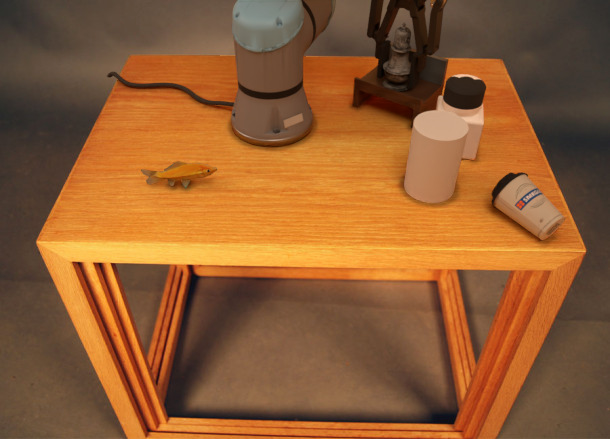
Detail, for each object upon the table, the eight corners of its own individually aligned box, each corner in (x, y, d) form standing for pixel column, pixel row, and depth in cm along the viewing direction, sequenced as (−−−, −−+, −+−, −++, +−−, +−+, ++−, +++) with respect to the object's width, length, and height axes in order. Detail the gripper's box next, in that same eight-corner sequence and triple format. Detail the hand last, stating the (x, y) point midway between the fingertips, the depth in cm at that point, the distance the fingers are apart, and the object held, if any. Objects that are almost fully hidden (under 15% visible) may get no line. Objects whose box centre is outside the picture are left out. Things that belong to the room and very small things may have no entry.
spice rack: (352, 106, 111) (355, 59, 104) (377, 85, 117) (382, 39, 110) (416, 129, 105) (424, 81, 98) (439, 106, 111) (448, 59, 104)
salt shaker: (392, 95, 103) (400, 32, 95) (375, 80, 107) (381, 19, 99) (418, 87, 105) (428, 25, 97) (400, 73, 109) (408, 13, 101)
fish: (222, 177, 93) (213, 152, 89) (220, 185, 91) (212, 160, 88) (151, 185, 94) (140, 161, 91) (148, 193, 93) (137, 169, 90)
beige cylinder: (454, 175, 95) (469, 114, 87) (453, 206, 89) (468, 144, 81) (406, 168, 96) (415, 107, 88) (401, 198, 90) (411, 136, 82)
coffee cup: (531, 252, 85) (484, 208, 90) (566, 225, 85) (518, 183, 90) (538, 232, 79) (487, 186, 84) (575, 203, 79) (523, 159, 84)
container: (475, 161, 98) (492, 95, 89) (429, 155, 99) (442, 90, 90) (474, 136, 103) (490, 71, 94) (431, 131, 104) (443, 67, 96)
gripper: (350, -55, 92) (344, 73, 108) (458, -31, 84) (434, 104, 100) (374, -67, 96) (364, 58, 112) (478, -45, 88) (452, 86, 104)
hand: (397, 80), depth 106 cm, fingers closed on salt shaker, 6 cm apart
